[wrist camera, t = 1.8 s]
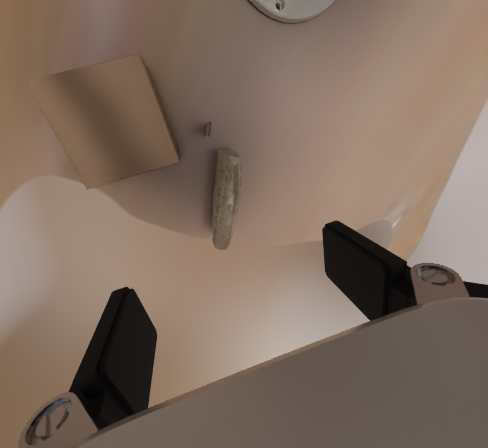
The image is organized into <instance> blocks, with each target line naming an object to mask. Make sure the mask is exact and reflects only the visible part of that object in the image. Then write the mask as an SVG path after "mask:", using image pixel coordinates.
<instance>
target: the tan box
mask: <svg viewBox="0 0 488 448" xmlns="http://www.w3.org/2000/svg"><path fill="white" fill-rule="evenodd" d="M25 83H26V85H27V86H28V88H29V90H30V92H31V93H32V95H33V97H34V99H35V100H36V102H37V104H38V105H39V107H40V109H41V111H42V112H43V114H44V116H45V117H46V119H47V121H48V123H49V124H50V126H51V128H52V130H53V131H54V133H55V135H56V136H57V138H58V140H59V142H60V143H61V145H62V147H63V149H64V150H65V152H66V154H67V155H68V157H69V159H70V161H71V162H72V164H73V166H74V167H75V169H76V171H77V173H78V174H79V176H80V178H81V180H82V181H83V183H84V185H85V186H86V188H87V189H90V188H94V187H97V186H101V185H104V184H107V183H111V182H114V181H118V180H121V179H124V178H128V177H131V176H134V175H138V174H141V173H145V172H148V171H151V170H155V169H158V168H161V167H165V166H168V165H172V164H175V163H178V162H180V154H179V151H178V148H177V145H176V143H175V140H174V137H173V134H172V132H171V129H170V126H169V123H168V121H167V118H166V115H165V113H164V110H163V107H162V104H161V102H160V99H159V96H158V93H157V91H156V88H155V85H154V82H153V80H152V77H151V74H150V71H149V69H148V67H147V66H146V64H145V62H144V61H143V59H142V57H141V56H140V54H138V55H133V56H129V57H125V58H121V59H116V60H112V61H108V62H104V63H99V64H95V65H91V66H87V67H83V68H78V69H74V70H70V71H66V72H61V73H57V74H53V75H49V76H44V77H40V78H36V79H32V80H27V81H25Z"/></svg>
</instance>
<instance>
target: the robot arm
mask: <svg viewBox="0 0 488 448" xmlns="http://www.w3.org/2000/svg"><path fill="white" fill-rule="evenodd" d="M249 1H251V2H252V3H253V4H254V5H255V6H256V7H257V8H258V9H259V10H260V11H261V12H263V13H264V14H266V15H267V16H269V17H271V18H273V19H276V20H279V21H281V22H288V23H297V22H303V21H307V20H309V19H311V18H314V17H316V16H318V15H319V14H320V13H321V12H323V11H324V10H325V9H327V8H328V7H329V6H330V5H331V4H332V3H333V2H334V1H335V0H249ZM276 6H278V8H279V10H278V9H277V8H276ZM322 232H323V247H324V262H325V272H326V275H327V276H328V278H329V279H330V280H331V281H332V282H333V283H334V284H335V285H336V286H337V287H338V288H339V289H340V290H341V291H342V292H343V293H344V294H345V295H346V296H347V297H348V298H349V299H350V300H351V301H352V302H353V303H354V304H355V306H356V307H357V308H358V309H359V310H360V311H362V313H363V314H364V315H365V316H366V317H367V318H368V319H369V320H370V321H369V322H367V323H364V324H361V325H359V326H356V327H353V328H351V329H348V330H346V331H343V332H341V333H338V334H335V335H333V336H330V337H327V338H325V339H322V340H320V341H317V342H314V343H312V344H309V345H307V346H304V347H301V348H299V349H297V350H294V351H291V352H289V353H286V354H283V355H281V356H278V357H276V358H273V359H271V360H268V361H266V362H263V363H260V364H258V365H255V366H253V367H250V368H248V369H245V370H242V371H240V372H237V373H235V374H232V375H230V376H227V377H225V378H222V379H220V380H217V381H215V382H212V383H210V384H207V385H205V386H202V387H200V388H197V389H195V390H192V391H190V392H187V393H184V394H182V395H180V396H177V397H174V398H172V399H170V400H167V401H165V402H162V403H160V404H158V405H155V406H153V407H150V408H148V403H149V396H150V388H151V379H152V372H153V365H154V357H155V349H156V341H157V333H156V329H155V327H154V326H153V324H152V322H151V320H150V318H149V316H148V314H147V312H146V311H145V309H144V307H143V305H142V303H141V302H140V300H139V298H138V296H137V294H136V292H135V291H134V289H129V288H128V287H125V288H122V289H118V290H115V291H113V292H112V293H111V296H110V298H109V300H108V303H107V305H106V307H105V309H104V312H103V314H102V316H101V319H100V321H99V323H98V325H97V328H96V330H95V332H94V335H93V337H92V339H91V341H90V344H89V346H88V348H87V351H86V353H85V355H84V357H83V359H82V362H81V364H80V366H79V369H78V371H77V373H76V375H75V378H74V380H73V383H72V385H71V387H70V390H69V392H66V393H62V394H59V395H58V396H56V397H54V398H52V399H50V400H49V401H48V402H47V403H45V404H44V405H43V406H42V407H41V408H40V409H39V410H37V411H36V412H35V413H34V415H33V416H32V417H31V418H30V420H29V421H28V422H27V424H26V425H25V427H24V429H23V431H22V432H21V435H20V438H19V442H18V444H19V445H18V446H19V447H18V448H488V285H485V284H478V283H471V282H464V281H462V279H461V277H460V276H459V274H458V273H456V272H455V271H454V270H452V269H450V268H448V267H445V266H443V265H439V264H434V263H421V264H417V265H415V266H413V267H412V268H411V267H409V266H407V262H406V261H405V260H403V259H401V258H400V257H398V256H396V255H395V254H393V253H391V252H390V251H388V250H386V249H385V248H383V247H381V246H380V245H378V244H376V243H374V242H373V241H371V240H370V239H368V238H366V237H364V236H363V235H361V234H359V233H358V232H356V231H354V230H353V229H351V228H349V227H348V226H346V225H344V224H343V223H341V222H339V221H333V222H330V223H327V224H325V227H324V228H323V229H322Z"/></svg>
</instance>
